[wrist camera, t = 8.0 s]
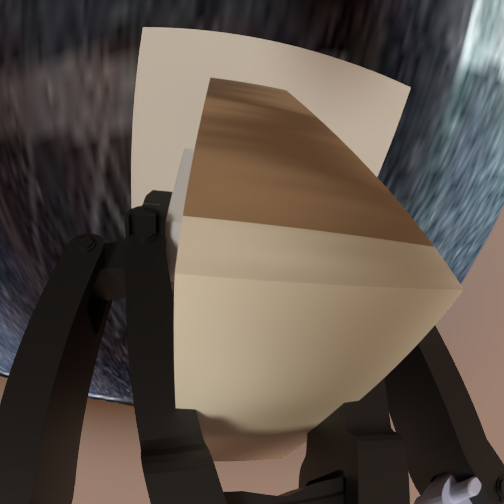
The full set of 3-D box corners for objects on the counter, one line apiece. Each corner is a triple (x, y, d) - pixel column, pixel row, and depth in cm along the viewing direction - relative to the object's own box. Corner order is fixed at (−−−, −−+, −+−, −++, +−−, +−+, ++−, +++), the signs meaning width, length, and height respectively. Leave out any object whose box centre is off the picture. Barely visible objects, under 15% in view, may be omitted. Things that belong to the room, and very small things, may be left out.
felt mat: (133, 209, 24) (131, 212, 24) (145, 27, 15) (143, 27, 15) (349, 231, 28) (351, 235, 28) (406, 85, 19) (410, 87, 19)
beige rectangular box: (189, 232, 20) (179, 460, 9) (210, 77, 13) (175, 273, 3) (249, 238, 20) (281, 458, 10) (286, 90, 14) (463, 289, 4)
